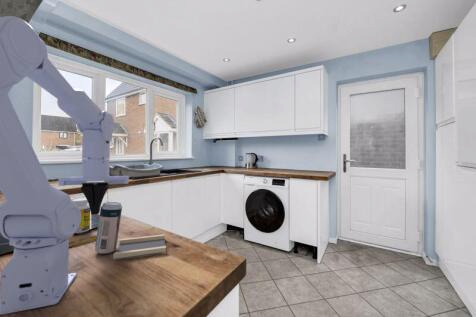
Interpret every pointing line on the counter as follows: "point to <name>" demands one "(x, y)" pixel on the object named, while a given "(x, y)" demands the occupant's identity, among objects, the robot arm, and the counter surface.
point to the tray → (140, 247)
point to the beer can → (108, 227)
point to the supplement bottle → (83, 215)
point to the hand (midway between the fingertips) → (95, 213)
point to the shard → (80, 240)
